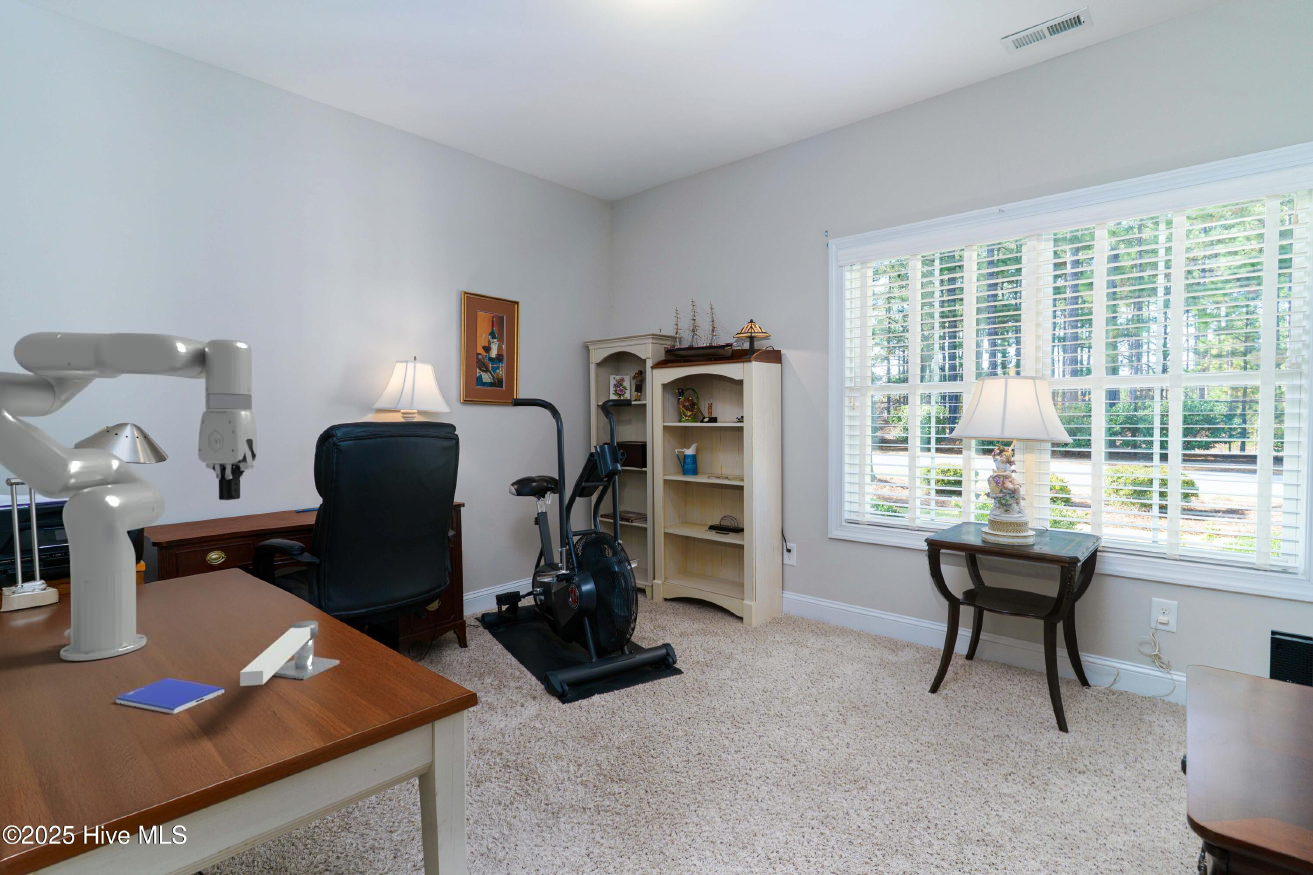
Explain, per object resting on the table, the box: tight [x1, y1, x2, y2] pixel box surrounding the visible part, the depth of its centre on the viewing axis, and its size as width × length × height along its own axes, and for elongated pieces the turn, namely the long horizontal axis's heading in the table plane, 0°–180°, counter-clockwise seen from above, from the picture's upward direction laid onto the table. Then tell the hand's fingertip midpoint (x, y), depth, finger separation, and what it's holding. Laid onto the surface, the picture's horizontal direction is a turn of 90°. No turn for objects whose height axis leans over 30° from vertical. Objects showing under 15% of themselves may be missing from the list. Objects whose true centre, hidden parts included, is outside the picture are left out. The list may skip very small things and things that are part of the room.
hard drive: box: [115, 677, 225, 715], centre depth 103 cm, size 2×8×12 cm
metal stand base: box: [272, 636, 340, 681], centre depth 115 cm, size 8×8×6 cm
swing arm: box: [239, 620, 319, 687], centre depth 105 cm, size 25×4×2 cm, turn 12°
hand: (229, 499), depth 125 cm, fingers closed
